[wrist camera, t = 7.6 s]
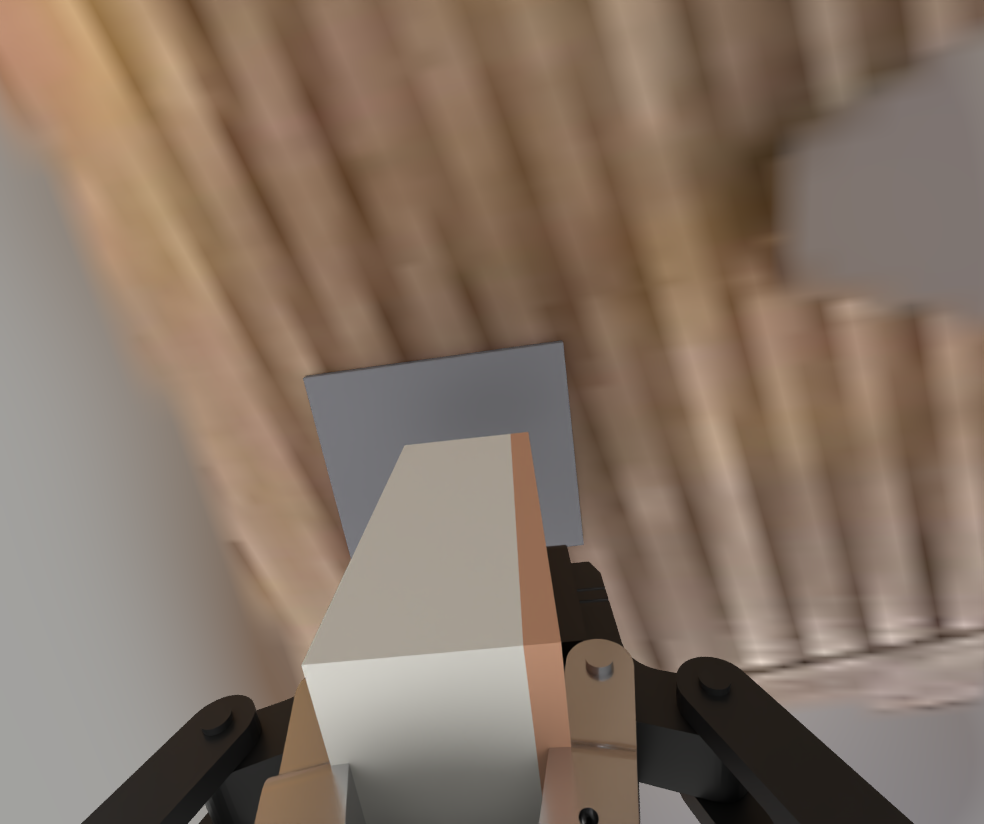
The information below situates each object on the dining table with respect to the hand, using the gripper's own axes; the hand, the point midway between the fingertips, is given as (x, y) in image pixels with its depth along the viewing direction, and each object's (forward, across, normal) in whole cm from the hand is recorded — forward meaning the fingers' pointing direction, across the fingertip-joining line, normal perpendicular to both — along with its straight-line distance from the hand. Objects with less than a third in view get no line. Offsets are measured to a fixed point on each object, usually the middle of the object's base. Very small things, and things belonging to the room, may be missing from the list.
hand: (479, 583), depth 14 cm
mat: (+19, +3, +5) cm, 20 cm away
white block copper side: (+2, 0, 0) cm, 2 cm away
